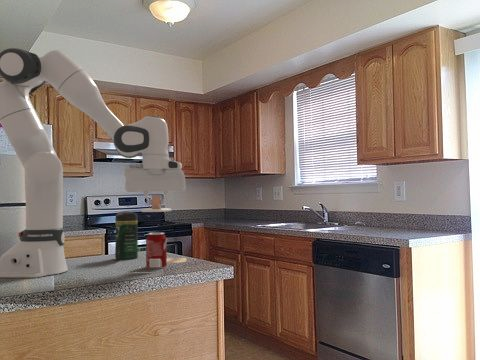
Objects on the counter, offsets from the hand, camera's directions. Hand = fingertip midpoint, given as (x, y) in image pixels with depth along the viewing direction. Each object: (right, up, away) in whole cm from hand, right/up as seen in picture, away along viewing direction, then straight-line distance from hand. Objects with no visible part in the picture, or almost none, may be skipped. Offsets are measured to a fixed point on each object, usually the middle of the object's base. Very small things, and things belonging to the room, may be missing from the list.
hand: (156, 205), depth 144 cm
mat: (+3, -22, +13) cm, 26 cm away
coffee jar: (-16, -22, +21) cm, 34 cm away
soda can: (0, -22, -1) cm, 22 cm away
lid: (0, -2, 0) cm, 2 cm away
